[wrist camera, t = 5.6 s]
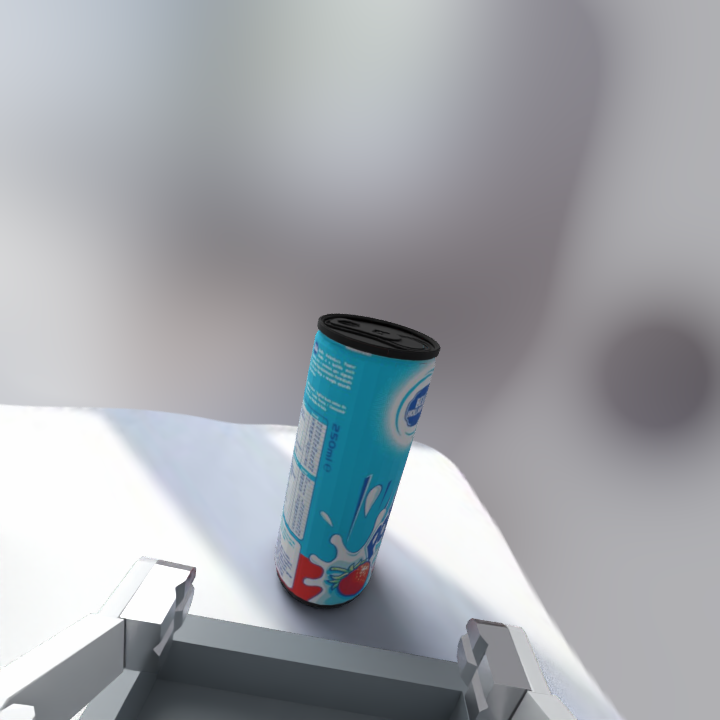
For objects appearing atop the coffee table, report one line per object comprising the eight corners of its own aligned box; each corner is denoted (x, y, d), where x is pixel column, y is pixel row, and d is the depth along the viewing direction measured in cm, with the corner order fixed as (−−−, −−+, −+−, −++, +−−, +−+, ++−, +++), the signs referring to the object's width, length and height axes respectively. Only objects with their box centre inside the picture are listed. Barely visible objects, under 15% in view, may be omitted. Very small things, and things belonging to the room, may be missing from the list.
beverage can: (336, 640, 17) (416, 361, 13) (250, 571, 20) (292, 317, 15) (385, 560, 22) (454, 342, 18) (312, 513, 25) (356, 311, 20)
